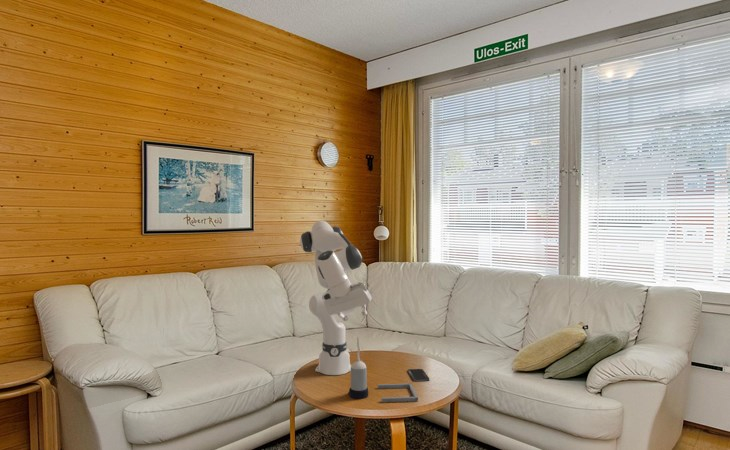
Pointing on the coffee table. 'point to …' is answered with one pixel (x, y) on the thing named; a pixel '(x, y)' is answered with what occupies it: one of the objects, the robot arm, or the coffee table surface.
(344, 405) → the coffee table surface
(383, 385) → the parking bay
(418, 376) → the phone
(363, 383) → the humidifier
